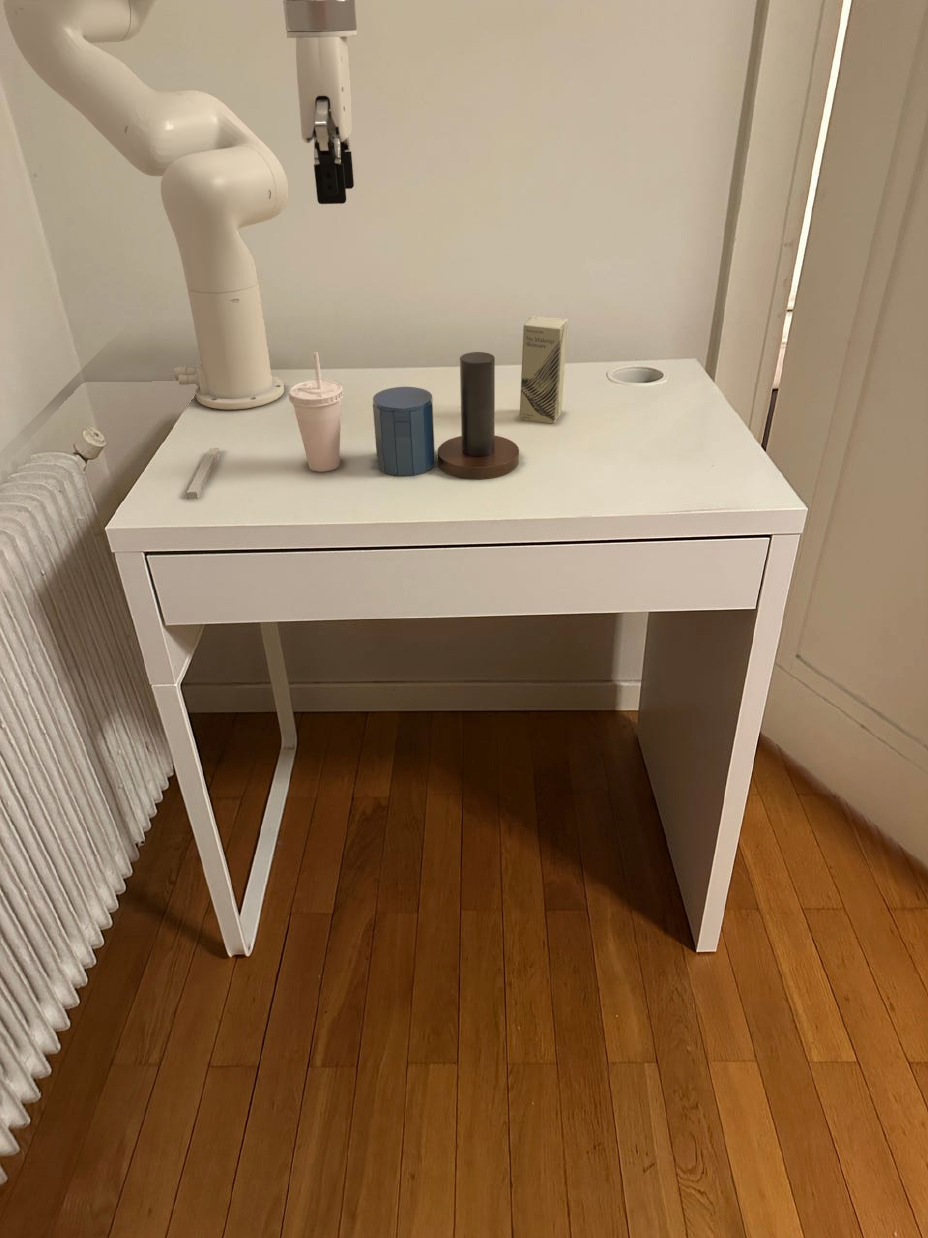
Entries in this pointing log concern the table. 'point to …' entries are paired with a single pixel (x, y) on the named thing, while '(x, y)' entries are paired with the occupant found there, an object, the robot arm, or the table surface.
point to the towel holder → (478, 426)
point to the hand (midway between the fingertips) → (336, 195)
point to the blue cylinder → (404, 430)
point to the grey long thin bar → (203, 473)
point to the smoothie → (319, 419)
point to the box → (543, 368)
